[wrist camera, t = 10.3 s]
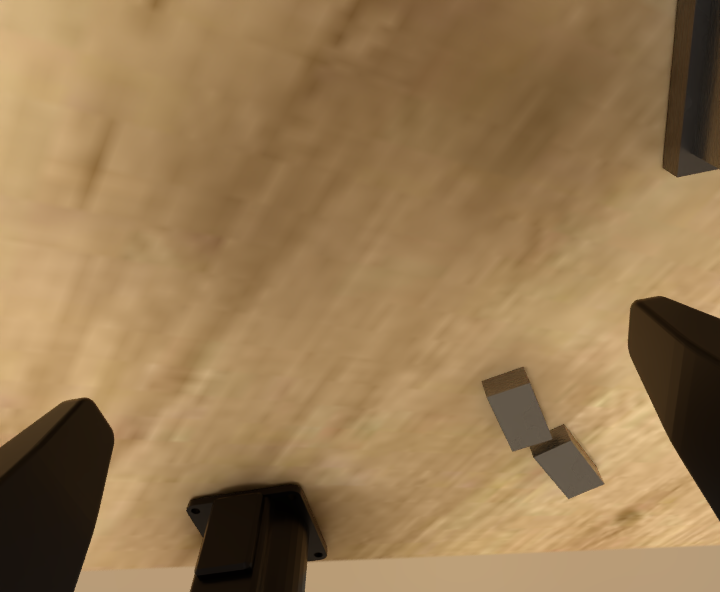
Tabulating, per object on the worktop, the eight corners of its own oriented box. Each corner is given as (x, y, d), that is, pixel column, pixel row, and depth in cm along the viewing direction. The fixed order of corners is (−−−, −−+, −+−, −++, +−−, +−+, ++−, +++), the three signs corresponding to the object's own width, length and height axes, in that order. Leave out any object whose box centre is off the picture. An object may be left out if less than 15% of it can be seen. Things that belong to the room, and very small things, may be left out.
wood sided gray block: (594, 462, 28) (604, 483, 27) (560, 476, 29) (568, 498, 27) (561, 419, 26) (570, 440, 25) (525, 435, 27) (533, 457, 26)
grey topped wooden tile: (543, 417, 26) (552, 439, 25) (505, 430, 27) (512, 451, 26) (521, 362, 24) (529, 382, 23) (480, 376, 25) (486, 397, 24)
